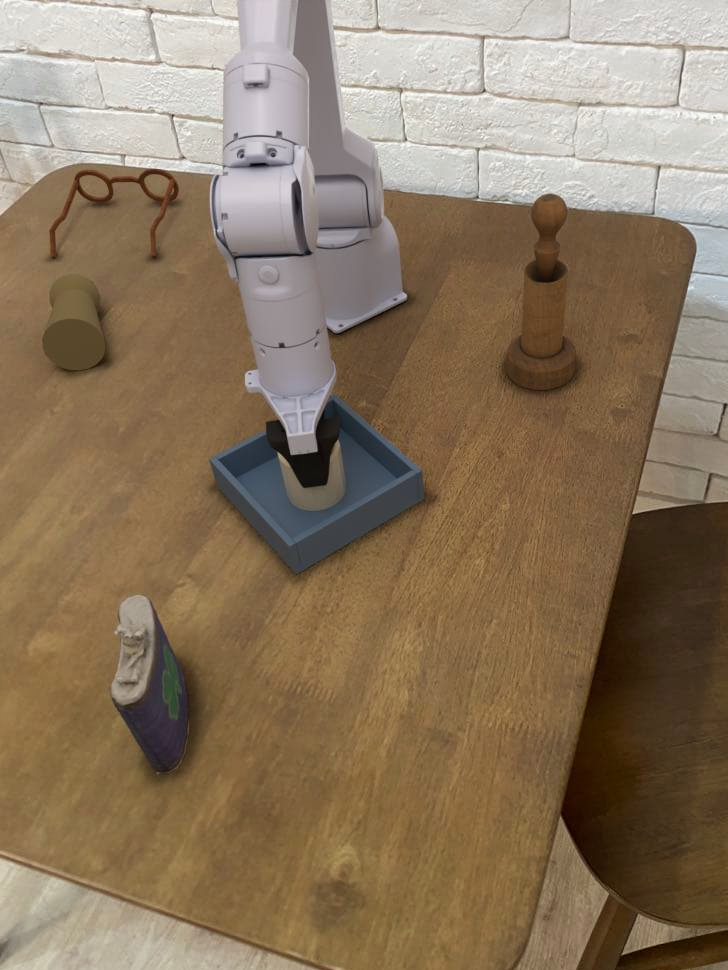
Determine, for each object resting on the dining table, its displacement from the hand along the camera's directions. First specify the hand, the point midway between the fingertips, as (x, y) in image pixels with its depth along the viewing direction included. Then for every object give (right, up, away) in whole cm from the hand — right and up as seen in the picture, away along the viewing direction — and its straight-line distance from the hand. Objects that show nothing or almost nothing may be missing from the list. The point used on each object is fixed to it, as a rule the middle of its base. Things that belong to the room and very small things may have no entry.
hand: (312, 459), depth 79 cm
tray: (0, -3, +3) cm, 4 cm away
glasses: (-27, +31, +36) cm, 55 cm away
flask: (-9, -20, -11) cm, 24 cm away
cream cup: (0, -2, +3) cm, 4 cm away
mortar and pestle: (+21, +10, +13) cm, 26 cm away
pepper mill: (-25, +13, +15) cm, 32 cm away
